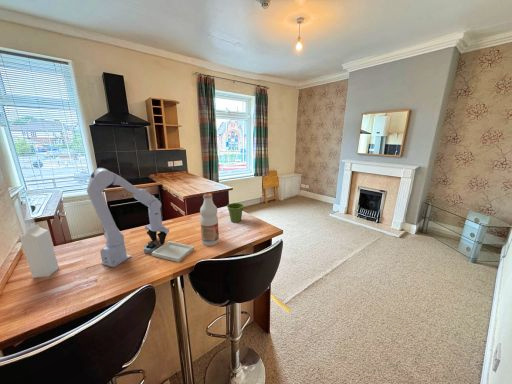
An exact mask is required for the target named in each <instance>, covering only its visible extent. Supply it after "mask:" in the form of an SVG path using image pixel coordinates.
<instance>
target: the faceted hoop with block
mask: <svg viewBox="0 0 512 384" xmlns="http://www.w3.org/2000/svg"><path fill="white" fill-rule="evenodd" d="M161 246H162V245H161V244H160V239H159V237H157V239H156V240H155V241H154V243H153V248H149V244H148V243H146V244H145V245H143V253H144V254H147V255H148V254H149V255H150V254H151V255H152V252H153V251H155V250H156V249H158V248H159V247H161Z"/></svg>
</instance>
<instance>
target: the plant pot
mask: <svg viewBox="0 0 512 384" xmlns="http://www.w3.org/2000/svg"><path fill="white" fill-rule="evenodd" d="M244 207H245V204H243V203H241V202H233V203H229V204H227V205H226V208H227V210H228V212H229V219H230V222H231V223H235V224H237V223H240V222H241V221H242V218H243V217H242V215H243V209H244Z"/></svg>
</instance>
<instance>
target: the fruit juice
mask: <svg viewBox="0 0 512 384" xmlns="http://www.w3.org/2000/svg"><path fill="white" fill-rule="evenodd" d="M202 198H203V203H202V205H201V206H200V209H199V212H200V215H201V216H200V232H201V233H200V234H201V243H202V244H203V245H204V246H209V247H211V246H215V245H217V244H218V243H219V238H220V236H219V234H220V233H219V219H218V215H217V214H218V207H217V206H216V205H215V203H214V201H213V194H212V193H204V194H203V195H202Z"/></svg>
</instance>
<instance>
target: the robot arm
mask: <svg viewBox="0 0 512 384" xmlns="http://www.w3.org/2000/svg"><path fill="white" fill-rule="evenodd" d="M89 176H90V177H89V181H88V185H87V188H86V193H87V195H88V197H89V199H90V202H91V204H92V205H93V208H94V209H95V212H96V214H97V216H98V219H99V221H100V223H101V225H102V228H103V231H104V232H103V236H104V238H105V240H106V243H105V246H104V247H103V248H101V249H100V256H101V257H100V258H101V264H102V265H104V266H108V267H112V268H115V267H116V266H118V265H120V264H121V263H123V262H125V261H126V260H128V259H129V258H131V257H132V255H131V254H129V253H128V254H127V249H126V245H125V236H124V234H123V233H122V232H121V230H120V229H119V228H118V227H117V224H116V222H115V220H114V218H113V215H112V214H111V211H110V208H109V207H108V204H107V201H106V200H105V198H104V195H103V192H104V191H105V189H106V188H107V187H109V186H110V185H113V186H120V187H121V188H123V189H124V190H126V191H128V192H130V193H131V194H133V198H134V199H135V200H137V201H138V202H139V203H141V204H143V205H144V206H145V207H148V208H147V210H148V217H149V218H148V220H149V224H147V225H145V226H144V229H145V230H146V234H147V235H148V236H149V238H150V241H153V243H154V241H155V240H156V239H158V238H159V239H160V244H161V246H162V244H163V245H164V244H165V243H166V237H167V234H169V233H170V229H169V228H167V227H165V226H164V225H163V220H162V212H161V208H162V205H163V204H162V202H161V201H160V200H159V199H158V198H156V196H155V195H153V194H150V193H149V192H148V190H147V189H146V188H138V187H136V186H134V185H133V184H132V183H130V182H129V181H128V180H127V179H125V178H124V177H122V176H121V175H118V174H116V173H114V172H113V171H110V170H108V169H107V168H104V167H98V168H96V169H95V170H93V171H92V173H91V174H90V175H89ZM147 230H148V231H147ZM158 232H159V233H158Z"/></svg>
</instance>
